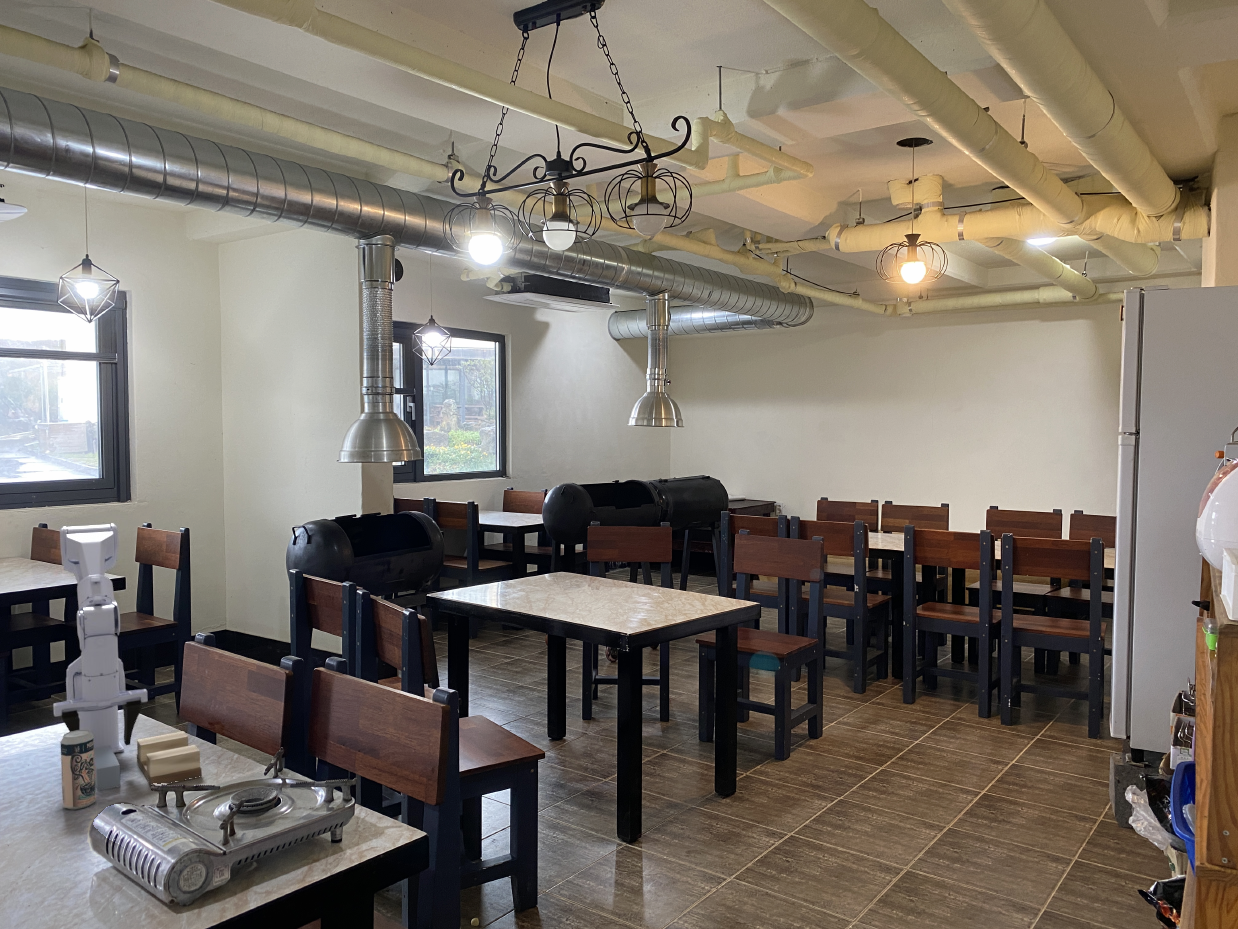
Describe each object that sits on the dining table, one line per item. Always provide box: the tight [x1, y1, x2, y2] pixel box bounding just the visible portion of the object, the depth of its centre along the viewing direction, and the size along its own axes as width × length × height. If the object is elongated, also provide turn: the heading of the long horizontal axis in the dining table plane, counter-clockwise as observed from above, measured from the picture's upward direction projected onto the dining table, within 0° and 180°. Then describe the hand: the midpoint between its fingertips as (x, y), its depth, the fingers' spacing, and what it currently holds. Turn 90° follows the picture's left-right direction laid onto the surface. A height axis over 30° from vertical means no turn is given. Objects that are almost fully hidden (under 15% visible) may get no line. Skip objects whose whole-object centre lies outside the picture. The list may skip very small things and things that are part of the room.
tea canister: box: [59, 730, 97, 811], centre depth 153 cm, size 5×5×12 cm
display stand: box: [136, 730, 203, 786], centre depth 169 cm, size 16×8×4 cm, turn 36°
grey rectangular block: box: [94, 745, 121, 792], centre depth 166 cm, size 13×4×4 cm, turn 35°
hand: (103, 748), depth 166 cm, fingers open, 7 cm apart
